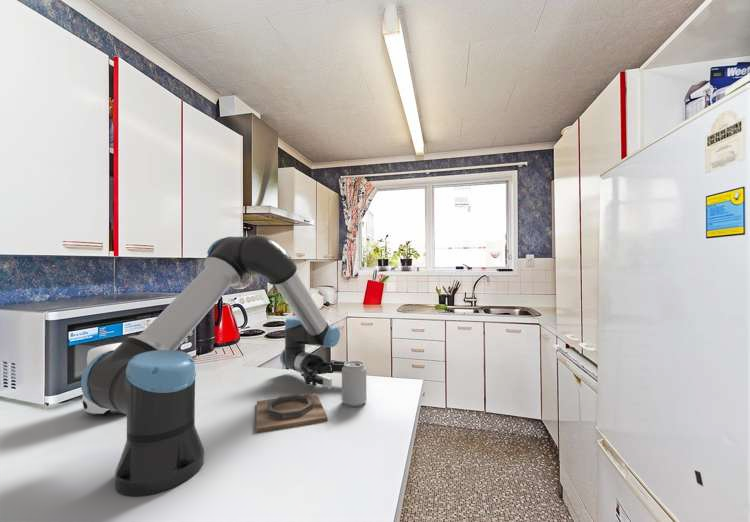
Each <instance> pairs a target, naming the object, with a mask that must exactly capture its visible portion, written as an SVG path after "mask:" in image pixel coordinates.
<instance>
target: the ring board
mask: <svg viewBox="0 0 750 522" xmlns="http://www.w3.org/2000/svg"><path fill="white" fill-rule="evenodd" d="M255 419H256V423H255V424H256V425H255V427H256V429H255V431H256V432H255V433H262V432H269V431H274V430H275V431H276V430H281V429H286V428H292V427H298V426H305V425H310V424H312V425H313V424H316V423H321V422H322V423H323V422H327V421H328V419H329V417H328V415H327V412H326V411H325V408H324V406H323V404H322V402H321V400H320V398H319V396H318V393H316V392H315V393H307V394H292V395H284V396H279V397H277V398H271V399H270V398H269V399H264V400H263V399H262V400H256V418H255Z"/></svg>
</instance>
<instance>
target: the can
mask: <svg viewBox="0 0 750 522" xmlns="http://www.w3.org/2000/svg"><path fill="white" fill-rule="evenodd" d="M344 362H345V363H344V367H343V368H342V372H341V401H342V403H343V404H345V405H346V406H347V407H360V406H363V405H364V404H365V403H366V402H367V399H368V398H367V367H366V366H365V363H364V362H363V361H361V360H349V361H344Z"/></svg>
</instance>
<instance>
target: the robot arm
mask: <svg viewBox="0 0 750 522" xmlns="http://www.w3.org/2000/svg"><path fill="white" fill-rule="evenodd" d="M206 254H207V256H206V258H205V260H204V262H203V264H204V268H203V270H201V272H199V274H198V275H196V277H195V278H194V279H193V280H192V281H190V283H189V284H188V285H186V287H185V288H184V289H183V290H182V291H181V292H180V293H179V294H178V296H176V297H175V298H174V299H173V300H172V301H171V303H169V304H168V305H167V306H166V307H165V308H164V309H163V310H162V311H161V313H159V314H158V315H157V316H156V318H155V319H154V320H153V321H152V322H151V323H149V325H147V327H146V328H145V329H144V330H143V331H142V332H141V333H140V334H138V335H136V334H135V335H129V336H128V337H126V338H125V339H124V340H123V341H122V342H120V343H121V344H120V345H119V346H118V347H117V348H116V349H115V350H112V351H108V352H105V353H102V354H100V355H98V356H97V357H95V358H94V359H93V360H92V361H91V362H90V363H89V364H88V365H86V367H85V369H84V371H83V372H82V374H81V379H80V386H81V387H80V388H81V392H82V395H83V394H84V396H85V397H86V398H87V399H88V400H89V401H90V402H92V403H94V404H96V405H98V406H99V407H101V408H107V409H112V410H115V411H118V412H121V413H120V414H124V415H126V441H125V445H124V448H123V450H122V453H121V456H120V459H119V461H118V464H117V467H116V469H115V473H114V487H115V490H116V491H117V492H118V493H120V494H121V495H125V496H129V497H132V496H133V497H135V496H136V497H140V496H141V497H142V496H147V495H151V494H152V495H153V494H157V493H161V492H163V491H166V490H169V489H172V488H175V487H177V486H179V485H180V484H182V483H184V482H186V481H188V480H189V479H190V478H193V477H194V475H196V473H198V472H199V471H200V470H201V468H202V466H204V462H205V449H204V446H203V443H202V441H201V439H200V435H199V433H198V431H197V428H196V426H195V425H196V424H195V423H196V421H195V418H196V417H195V415H196V412H195V409H196V408H195V407H196V400H195V399H196V373H197V372H196V368H195V360H194V358H193V357H192V355H191V354H189V353H188V352H185V351H182V350H177V349H179V347H180V345H182V343H183V342H184V341H185V340H186V339H187V338H188V336H189V335H190V334H191V333H192V332H193V331H194V329H196V327H197V326H198V325H199V324H200V322H201V321H202V320H203V319H204V318H205V316H206V315H207V314H208V313H209V312H210V311H211V310H212V308H213V307H214V306H215V305H216V304H217V302H218V301H219V300H220V299H221V298H222V297H223V295H224V294H225V293H226V292H227V290H229V288H230V287H238V285H240V284H241V282H242V281H243V280H244V279H245V278H246V277H247V276H248V275H259V276H261V277H263V278H265V280H266V281H267V283H268V284H269V285H271V286H275V288H276V289H277V291H278V292H279V293H280V294H281V296H282V298H283V299H284V300H285V302H286V303H287V305H288V306H289V308H290V309H291V311H292V312H293V313H294V315H295V316H296V317H295V316H294V317H289V318H286V319H285V321H284V322H285V323H284V349H283V350H282V351H281V354H280V356H279V362H280V363H281V365H282V366H284V367H285V368H287V369H289V370H292V371H295V372H298V373H300V375H301V376H302V377H303V379H304V381H305V384H306V385H310V384H311V385H312V386H313V387H315V386H317V385H320V386H322V387H325V388H326V389H327V388H328V389H329V390H330V389H332V386H333V385H332V383H333V382H332V378H330V377H328V376H325V375H326V374H334V372H335V373H336V372H337V373H342V368H343V367H344V363H345V362H346V361H340V360H333V359H331V360H330V361H329V362H328V361H324V359H323V358H322V357H321V356H320V355H317V354H314V353H311V352H307V351H306V345H307V346H315V347H324V348H334V347H336V346H337V345H338V344H339V341H340V337H341V333H340V329H339V328H338V327H337V326H334V325H330V324H328V322H327V320H326V318H325V316H324V315H323V314H322V312H321V310H320V309H319V306H318V305H317V303H316V302H315V300H314V299H313V298H312V295H311V294H310V292H309V290H308V289H307V287H306V285H305V284H304V282H303V281H302V279H301V277H300V275H299V274H298V273H297V271H298V266H297V264H296V262H295V261H294V260H293V258H292V256H290V254H289V253H288V252H287V251H286V250H285V249H284V247H282V246H281V245H280V244H279V243H277V242H276V241H274V240H273V239H272V238H269V237H267V236H263V235H259V234H258V235H246V236H245V235H243V236H226V237H223V238H219V239H217V240H216V241H214V242H212V244H211V245H210V246H209V247H208V249H207V252H206Z"/></svg>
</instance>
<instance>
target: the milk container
mask: <svg viewBox="0 0 750 522" xmlns="http://www.w3.org/2000/svg"><path fill="white" fill-rule="evenodd" d="M121 343H122V342H115V343H108V344H104V345H99V346H96V347H93V348H91V349H89V350H88V351H87V356H86V364H87V365H88V364H89V363H90V362H91V361H92V360H93V359H94V358H95V357H97V356H98V355H100V354H102V353H105V352H108V351H112V350H115V349H116V348H117V347H118V346H119V345H120V344H121ZM87 365H86V366H87ZM81 400H82V406H83V410H84V411H85V412H86V413H87V414H89V415H94V416H101V417H103V416H112V415H119V414H122V413H121V412H118V411H115V410H112V409H107V408H101V407H99V406H98V405H96V404H94V403H92V402H90V401H89V400H88V399H87V398H86V397H85V396H84V394H83V393H82V398H81Z"/></svg>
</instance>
